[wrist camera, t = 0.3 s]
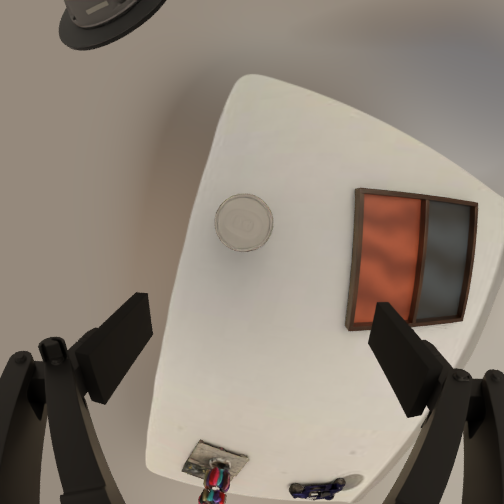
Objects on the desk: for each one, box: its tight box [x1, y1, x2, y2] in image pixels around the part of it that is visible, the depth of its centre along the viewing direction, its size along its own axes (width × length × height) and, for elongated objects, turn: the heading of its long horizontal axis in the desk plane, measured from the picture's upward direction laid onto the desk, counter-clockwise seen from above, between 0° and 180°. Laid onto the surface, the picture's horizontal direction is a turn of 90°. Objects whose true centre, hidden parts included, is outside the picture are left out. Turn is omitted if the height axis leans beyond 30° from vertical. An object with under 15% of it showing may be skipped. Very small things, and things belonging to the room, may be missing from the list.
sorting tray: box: [345, 188, 478, 331], centre depth 34 cm, size 18×20×2 cm
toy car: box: [289, 478, 346, 500], centre depth 41 cm, size 12×6×4 cm, turn 76°
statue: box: [182, 440, 249, 504], centre depth 35 cm, size 11×9×15 cm
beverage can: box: [215, 194, 273, 252], centre depth 29 cm, size 5×5×12 cm
